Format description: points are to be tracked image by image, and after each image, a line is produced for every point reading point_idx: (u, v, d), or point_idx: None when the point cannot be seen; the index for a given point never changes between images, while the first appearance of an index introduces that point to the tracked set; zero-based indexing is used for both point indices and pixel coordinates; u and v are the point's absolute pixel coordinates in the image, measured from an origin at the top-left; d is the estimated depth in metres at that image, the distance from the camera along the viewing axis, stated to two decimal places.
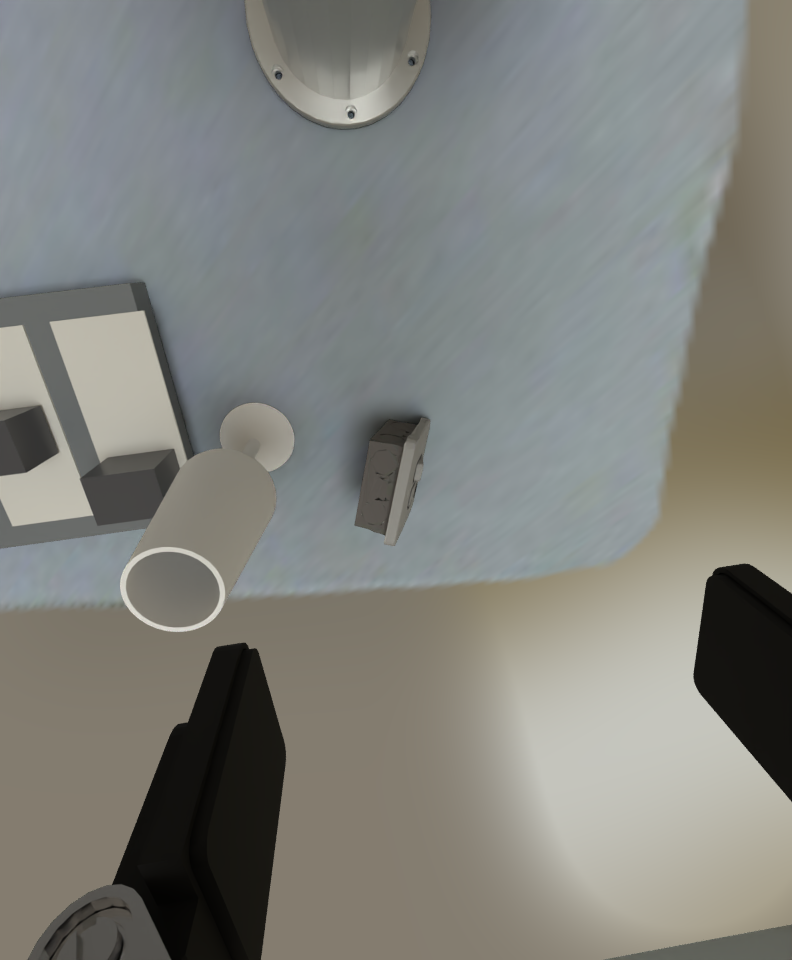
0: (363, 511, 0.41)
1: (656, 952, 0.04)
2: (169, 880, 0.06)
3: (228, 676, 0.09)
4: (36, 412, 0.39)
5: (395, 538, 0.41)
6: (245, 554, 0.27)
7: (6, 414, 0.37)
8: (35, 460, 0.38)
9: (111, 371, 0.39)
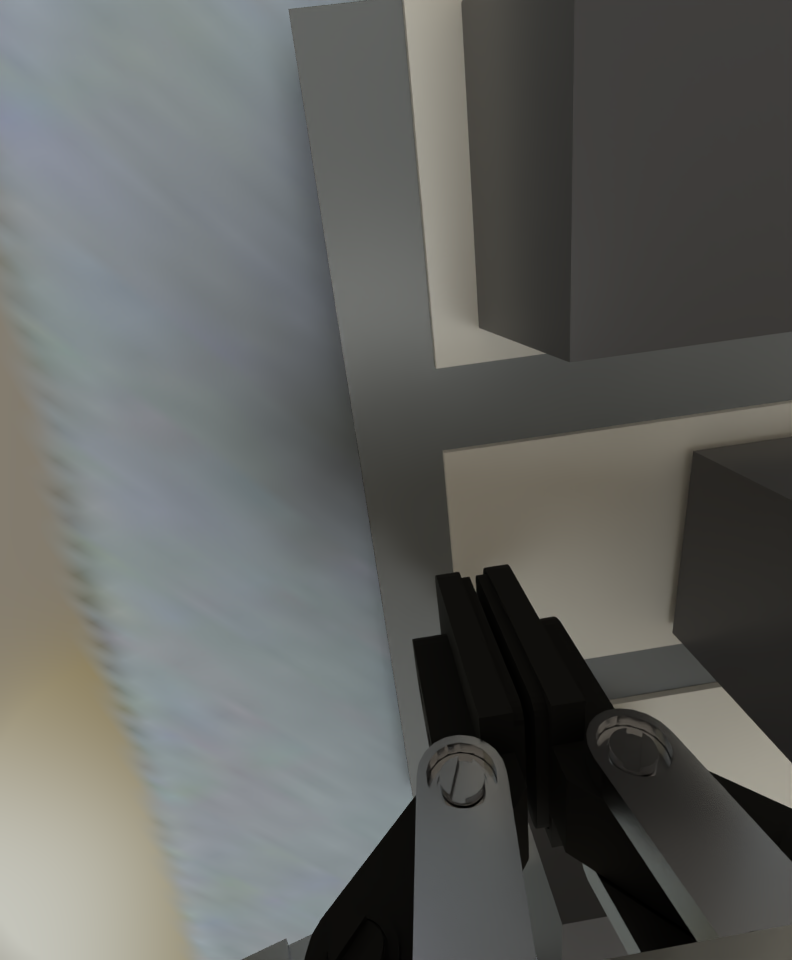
0: None
1: (656, 952, 0.04)
2: (498, 733, 0.07)
3: (464, 594, 0.10)
4: None
5: None
6: None
7: None
8: None
9: None
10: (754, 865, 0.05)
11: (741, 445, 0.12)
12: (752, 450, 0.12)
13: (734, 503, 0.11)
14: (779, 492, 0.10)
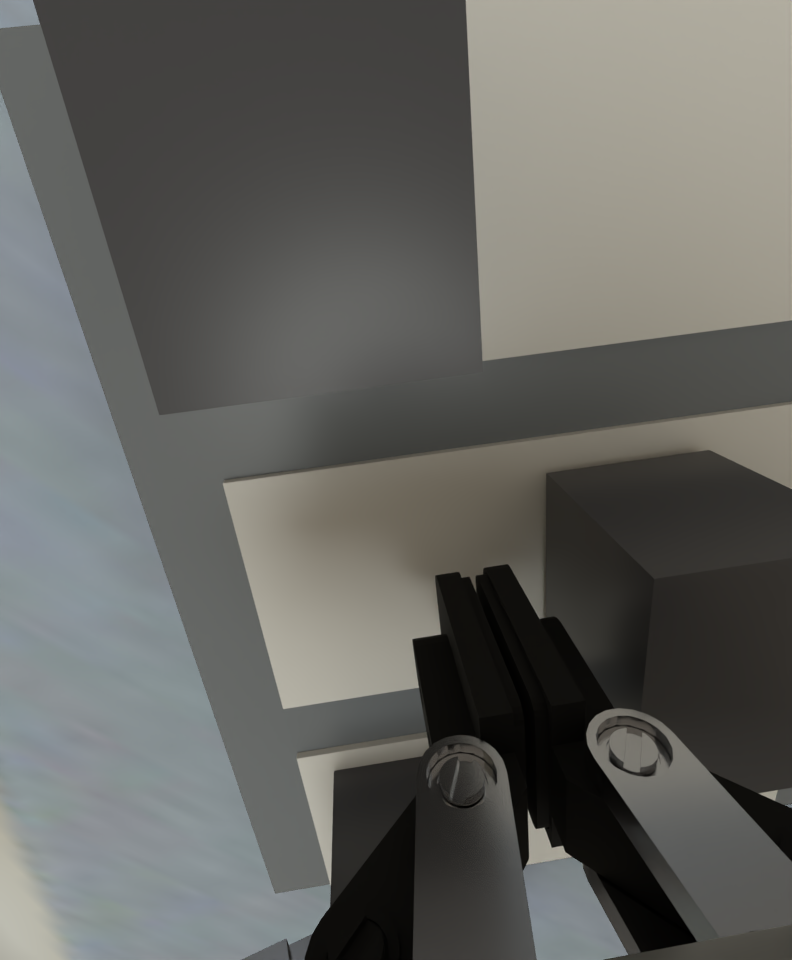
0: None
1: (656, 952, 0.04)
2: (498, 733, 0.07)
3: (464, 594, 0.10)
4: None
5: None
6: None
7: None
8: None
9: None
10: (754, 865, 0.05)
11: (595, 467, 0.12)
12: (601, 473, 0.11)
13: (572, 529, 0.11)
14: (597, 521, 0.09)
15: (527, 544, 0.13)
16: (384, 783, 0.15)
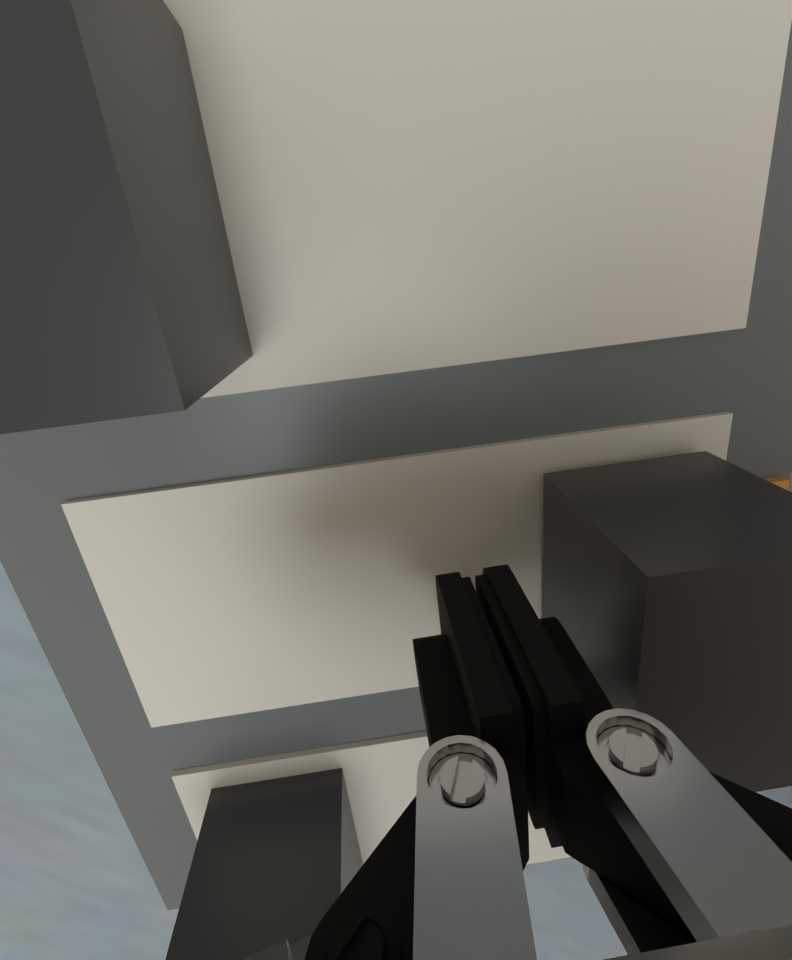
0: None
1: (656, 952, 0.04)
2: (498, 733, 0.07)
3: (464, 594, 0.10)
4: None
5: None
6: None
7: None
8: None
9: None
10: (753, 866, 0.05)
11: (591, 468, 0.12)
12: (598, 474, 0.12)
13: (569, 529, 0.11)
14: (593, 521, 0.10)
15: (383, 564, 0.13)
16: (257, 802, 0.15)
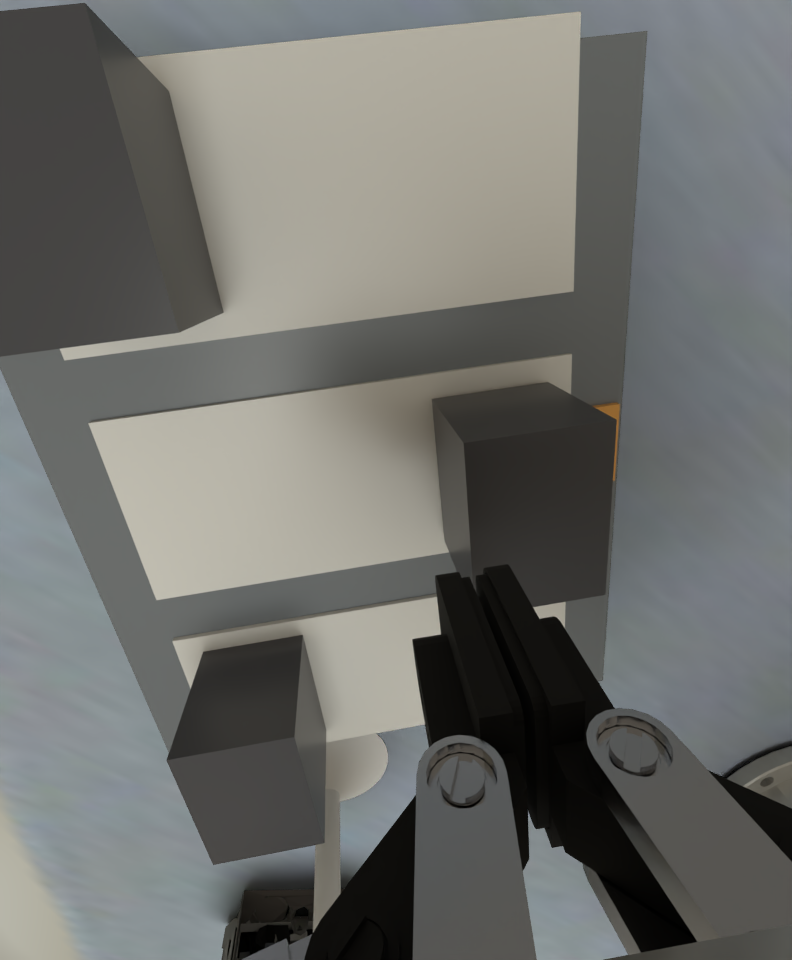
0: None
1: (656, 952, 0.04)
2: (498, 733, 0.07)
3: (464, 594, 0.10)
4: None
5: None
6: None
7: None
8: None
9: None
10: (754, 865, 0.05)
11: (465, 394, 0.17)
12: (468, 397, 0.16)
13: (442, 433, 0.16)
14: (448, 420, 0.14)
15: (325, 469, 0.18)
16: (238, 657, 0.19)
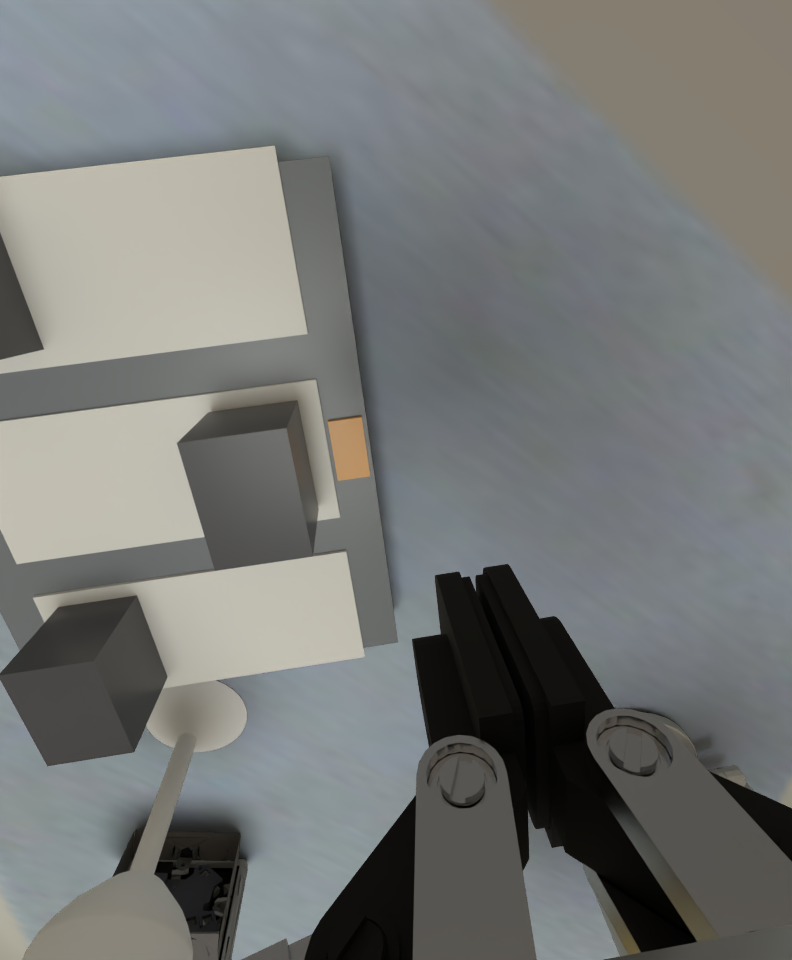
0: None
1: (656, 952, 0.04)
2: (498, 733, 0.07)
3: (464, 594, 0.10)
4: None
5: None
6: None
7: (311, 506, 0.22)
8: None
9: (279, 615, 0.27)
10: (754, 865, 0.05)
11: (233, 409, 0.22)
12: (231, 411, 0.22)
13: None
14: (192, 428, 0.20)
15: (136, 464, 0.23)
16: (81, 610, 0.25)
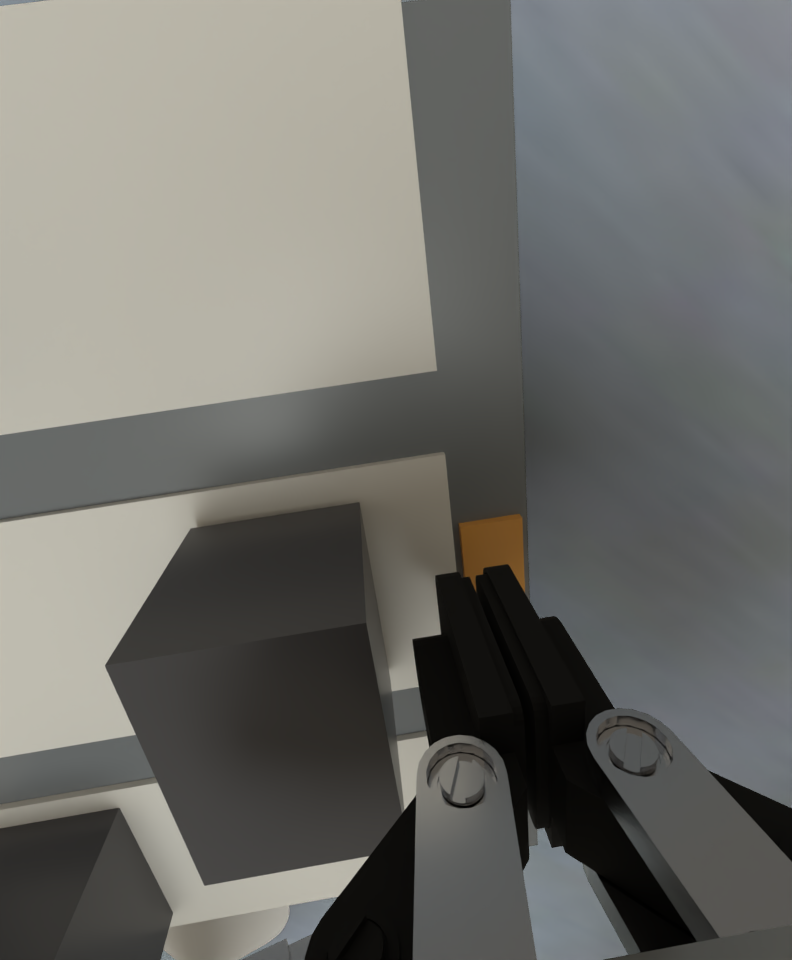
0: None
1: (656, 952, 0.04)
2: (498, 733, 0.07)
3: (464, 594, 0.10)
4: None
5: None
6: None
7: (391, 710, 0.11)
8: None
9: None
10: (754, 865, 0.05)
11: (238, 522, 0.12)
12: (234, 530, 0.11)
13: None
14: (152, 591, 0.09)
15: (111, 610, 0.13)
16: (23, 845, 0.15)
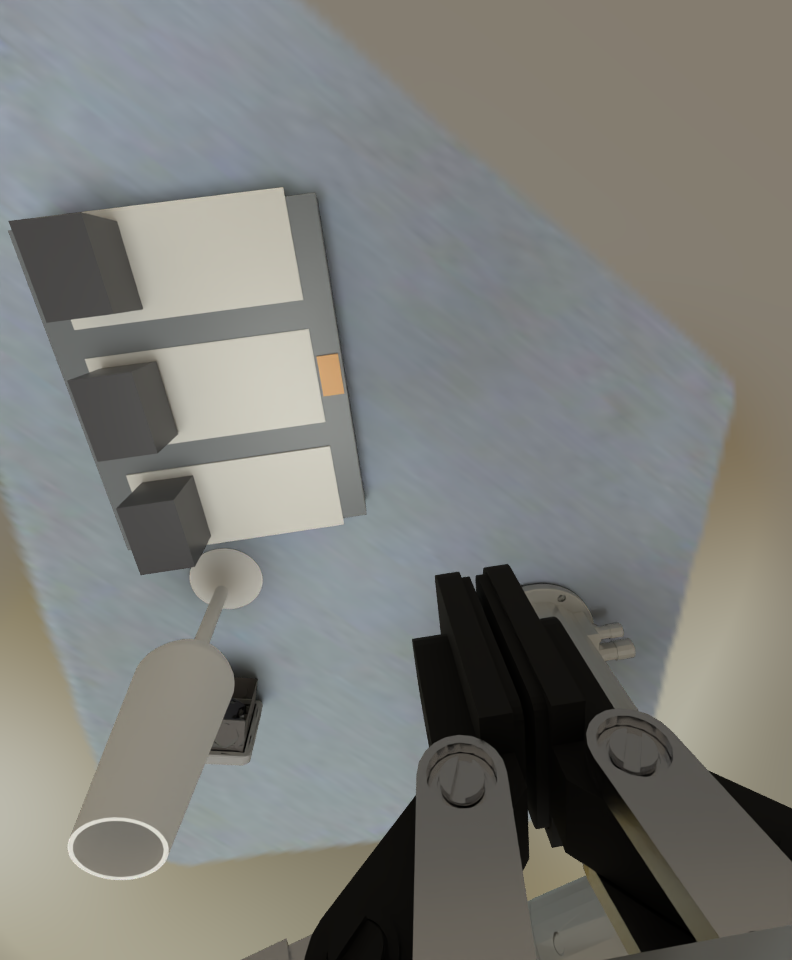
0: None
1: (656, 952, 0.04)
2: (498, 733, 0.07)
3: (464, 594, 0.10)
4: None
5: None
6: None
7: (163, 426, 0.35)
8: None
9: (286, 491, 0.41)
10: (754, 865, 0.05)
11: None
12: (112, 367, 0.35)
13: None
14: (82, 375, 0.33)
15: (196, 384, 0.37)
16: (158, 483, 0.39)
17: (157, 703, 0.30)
